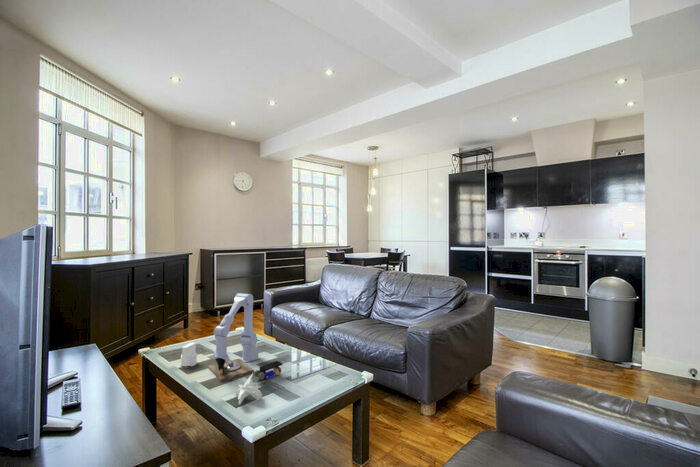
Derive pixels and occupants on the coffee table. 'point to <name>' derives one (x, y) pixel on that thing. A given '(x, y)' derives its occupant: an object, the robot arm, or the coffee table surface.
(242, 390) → the figurine
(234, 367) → the flange plate
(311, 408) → the coffee table surface
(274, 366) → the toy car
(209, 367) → the base board
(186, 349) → the cylinder with rectangular tab
